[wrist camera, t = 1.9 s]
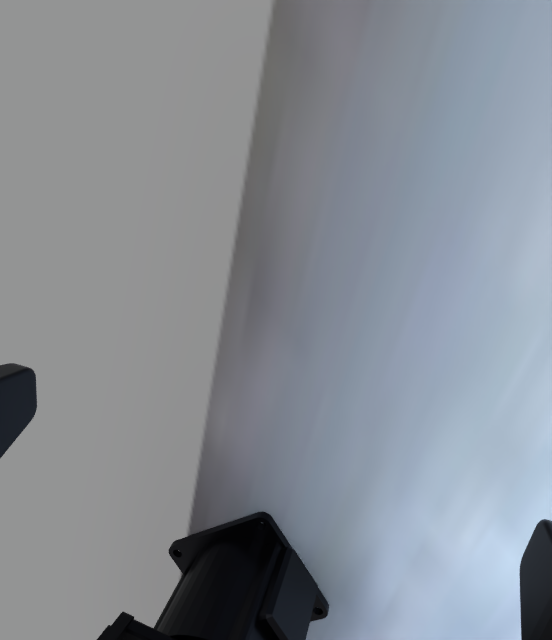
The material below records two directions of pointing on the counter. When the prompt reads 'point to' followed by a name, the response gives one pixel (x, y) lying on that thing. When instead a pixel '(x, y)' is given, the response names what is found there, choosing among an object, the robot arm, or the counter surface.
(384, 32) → the counter surface
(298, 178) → the counter surface
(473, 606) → the counter surface
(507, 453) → the counter surface
